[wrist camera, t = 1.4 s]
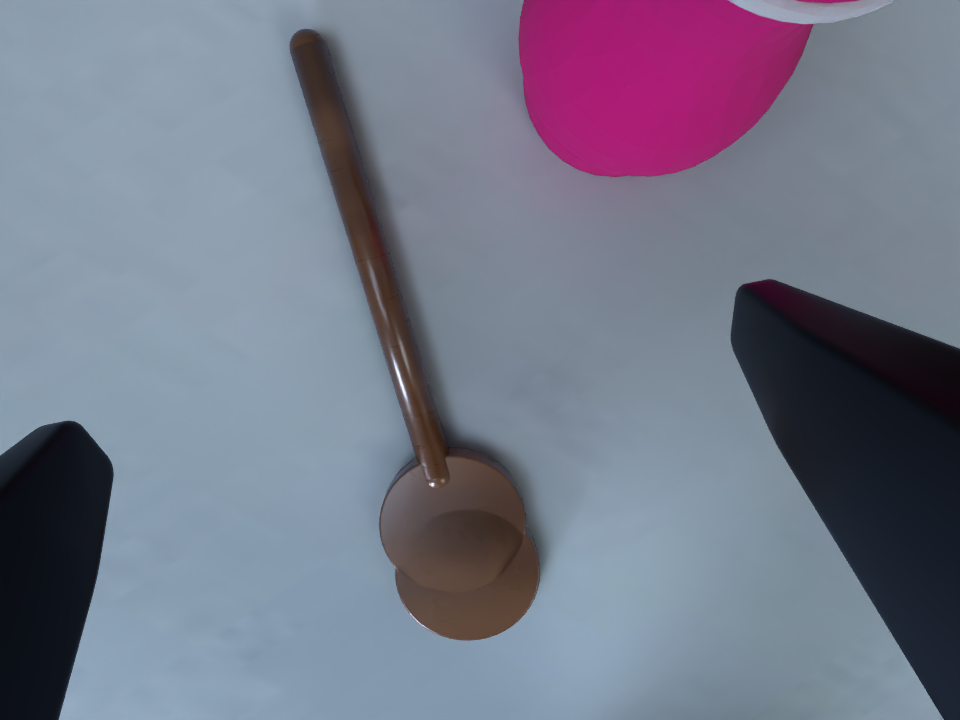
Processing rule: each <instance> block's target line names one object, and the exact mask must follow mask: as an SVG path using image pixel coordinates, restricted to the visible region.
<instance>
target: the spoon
mask: <svg viewBox="0 0 960 720" xmlns="http://www.w3.org/2000/svg"><path fill="white" fill-rule="evenodd" d="M290 53H291V57H292V60H293V63H294V66H295V70H296V73H297V76H298V79H299V82H300V86H301V89H302V92H303V95H304V98H305V102H306V105H307V108H308V111H309V115H310V118H311V121H312V124H313V127H314V131H315V134H316V137H317V140H318V144H319V147H320V150H321V153H322V156H323V160H324V163H325V166H326V169H327V172H328V176H329V179H330V182H331V185H332V189H333V192H334V195H335V198H336V201H337V205H338V208H339V211H340V214H341V217H342V221H343V224H344V227H345V230H346V234H347V237H348V240H349V243H350V246H351V250H352V253H353V256H354V259H355V262H356V266H357V269H358V272H359V275H360V279H361V282H362V285H363V288H364V291H365V295H366V298H367V301H368V304H369V308H370V311H371V314H372V317H373V320H374V324H375V327H376V330H377V333H378V336H379V340H380V343H381V346H382V349H383V353H384V356H385V359H386V362H387V365H388V369H389V372H390V375H391V378H392V381H393V385H394V388H395V391H396V394H397V398H398V401H399V404H400V407H401V410H402V414H403V417H404V420H405V423H406V427H407V430H408V433H409V436H410V439H411V443H412V446H413V449H414V452H415V455H416V458H415V459H414V460H412V461H411V462H409V463H408V464H407V465H406V466H405V467H403V468H402V469H401V470H400V472H399V473H398V474H397V475H396V476H395V478H394V479H393V481H392V482H391V484H390V486H389V488H388V490H387V493H386V495H385V498H384V501H383V504H382V508H381V512H380V519H379V529H380V537H381V541H382V545H383V547H384V550H385V552H386V554H387V556H388V558H389V559H390V561H391V563H392V564H393V565H394V566H395V568H396V569H395V578H396V585H397V589H398V593H399V596H400V598H401V601H402V602H403V604H404V606H405V608H406V609H407V611H408V612H409V613H410V614H411V616H412V617H413V618H414V619H415V620H416V621H417V622H418V623H420V624H421V625H422V626H423V627H425V628H426V629H428V630H430V631H431V632H433V633H436V634H438V635H440V636H443V637H447V638H450V639H456V640H479V639H484V638H488V637H491V636H494V635H497V634H499V633H501V632H503V631H505V630H507V629H508V628H510V627H511V626H513V625H514V624H515V623H516V622H518V621H519V620H520V619H521V618H522V616H523V615H524V614H525V613H526V612H527V610H528V609H529V607H530V606H531V604H532V602H533V600H534V599H535V596H536V593H537V591H538V586H539V582H540V563H539V558H538V554H537V549H536V545H535V542H534V540H533V537H532V535H531V533H530V531H529V529H528V528H527V526H526V525H527V524H526V513H525V509H524V504H523V500H522V496H521V493H520V490H519V488H518V486H517V484H516V482H515V481H514V479H513V478H512V477H511V475H510V474H509V473H508V472H507V471H506V469H505V468H504V467H502V466H501V465H500V464H499V463H498V462H496V461H495V460H493V459H492V458H490V457H488V456H486V455H484V454H482V453H479V452H476V451H473V450H468V449H462V448H448V447H447V443H446V440H445V437H444V433H443V430H442V427H441V423H440V420H439V417H438V413H437V410H436V407H435V403H434V400H433V397H432V393H431V390H430V387H429V383H428V380H427V377H426V373H425V370H424V367H423V363H422V360H421V357H420V354H419V350H418V347H417V344H416V340H415V337H414V334H413V330H412V327H411V324H410V320H409V317H408V314H407V310H406V307H405V304H404V300H403V297H402V294H401V290H400V287H399V284H398V280H397V277H396V274H395V270H394V267H393V264H392V260H391V257H390V254H389V250H388V247H387V244H386V240H385V237H384V234H383V230H382V227H381V224H380V220H379V217H378V214H377V211H376V207H375V204H374V201H373V197H372V194H371V191H370V187H369V184H368V181H367V177H366V174H365V171H364V167H363V164H362V161H361V157H360V154H359V151H358V147H357V144H356V141H355V137H354V134H353V131H352V127H351V124H350V121H349V117H348V114H347V111H346V107H345V104H344V101H343V97H342V94H341V91H340V87H339V84H338V81H337V77H336V74H335V71H334V68H333V64H332V61H331V58H330V54H329V51H328V48H327V45H326V42H325V40H324V39H323V37H322V36H321V35H320V34H319V33H317V32H316V31H314V30H311V29H301V30H299V31H297V32H296V33H295V34H294V35H293V36H292V38H291V41H290Z"/></svg>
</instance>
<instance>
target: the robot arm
mask: <svg viewBox="0 0 960 720" xmlns="http://www.w3.org/2000/svg"><path fill="white" fill-rule="evenodd" d="M731 344H732V348H733V351H734V353H735V356H736V358H737V360H738V362H739V364H740V367H741V369H742V371H743V373H744V375H745V378H746V380H747V382H748V384H749V386H750V389H751V391H752V393H753V395H754V397H755V400H756V402H757V404H758V406H759V408H760V411H761V413H762V415H763V417H764V419H765V422H766V424H767V426H768V428H769V430H770V432H771V434H772V436H773V438H774V440H775V442H776V444H777V446H778V448H779V449H780V451H781V453H782V455H783V456H784V458H785V460H786V461H787V463H788V465H789V466H790V468H791V470H792V471H793V473H794V475H795V476H796V478H797V480H798V481H799V483H800V484H801V486H802V488H803V489H804V491H805V493H806V494H807V496H808V498H809V499H810V501H811V502H812V504H813V506H814V507H815V509H816V511H817V512H818V514H819V516H820V517H821V519H822V521H823V522H824V524H825V525H826V527H827V529H828V530H829V532H830V534H831V535H832V537H833V539H834V540H835V542H836V543H837V545H838V547H839V548H840V550H841V552H842V553H843V555H844V557H845V558H846V560H847V562H848V563H849V565H850V566H851V568H852V570H853V571H854V573H855V575H856V576H857V578H858V580H859V581H860V583H861V585H862V586H863V588H864V589H865V591H866V593H867V594H868V596H869V598H870V599H871V601H872V603H873V604H874V606H875V607H876V609H877V611H878V612H879V614H880V616H881V617H882V619H883V621H884V622H885V624H886V626H887V627H888V629H889V630H890V632H891V634H892V635H893V637H894V639H895V640H896V642H897V644H898V645H899V647H900V648H901V650H902V652H903V653H904V655H905V657H906V658H907V660H908V662H909V663H910V665H911V667H912V668H913V670H914V671H915V673H916V675H917V676H918V678H919V680H920V681H921V683H922V685H923V686H924V688H925V689H926V691H927V693H928V694H929V696H930V698H931V699H932V701H933V703H934V704H935V706H936V708H937V709H938V711H939V712H940V714H941V716H942V717H943V719H944V720H960V349H959V348H956V347H954V346H951V345H948V344H946V343H943V342H940V341H938V340H935V339H932V338H929V337H927V336H924V335H921V334H919V333H916V332H913V331H911V330H908V329H905V328H903V327H900V326H897V325H894V324H892V323H889V322H886V321H884V320H881V319H878V318H876V317H873V316H870V315H868V314H865V313H862V312H859V311H857V310H854V309H851V308H849V307H846V306H843V305H841V304H838V303H835V302H833V301H830V300H827V299H824V298H822V297H819V296H816V295H814V294H811V293H808V292H806V291H803V290H800V289H798V288H795V287H792V286H789V285H787V284H784V283H781V282H779V281H776V280H773V279H766V280H761V281H756V282H752V283H747V284H743V285H742V286H740V287H739V288H738V290H737V292H736V296H735V304H734V312H733V320H732V327H731ZM113 476H114V474H113V467H112V463H111V461H110V459H109V458H108V456H107V455H106V454H105V453H104V451H103V450H102V449H101V448H100V447H99V446H98V444H97V443H96V442H95V441H94V440H93V438H92V437H91V436H90V435H89V434H88V432H87V431H86V430H85V429H84V428H83V427H82V426H81V425H80V424H78V423H77V422H75V421H63V422H58V423H53V424H48V425H44V426H41V427H39V428H37V429H35V430H34V431H33V432H31V433H30V434H29V435H27V436H26V437H25V438H23V439H22V440H21V441H19V442H18V443H17V444H15V445H14V446H13V447H11V448H10V449H9V450H7V451H6V452H5V453H3V454H2V455H1V456H0V720H59V716H60V713H61V709H62V705H63V702H64V698H65V694H66V691H67V687H68V683H69V680H70V676H71V673H72V669H73V665H74V662H75V658H76V654H77V651H78V647H79V643H80V640H81V636H82V632H83V629H84V625H85V621H86V618H87V614H88V610H89V607H90V603H91V600H92V596H93V592H94V588H95V584H96V580H97V575H98V570H99V564H100V559H101V552H102V546H103V540H104V534H105V527H106V521H107V515H108V508H109V502H110V496H111V490H112V483H113Z"/></svg>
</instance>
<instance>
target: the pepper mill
mask: <svg viewBox="0 0 960 720" xmlns="http://www.w3.org/2000/svg"><path fill="white" fill-rule="evenodd" d="M893 1H895V0H524V2H523V7H522V11H521V16H520V27H519V52H520V63H521V68H522V72H523V77H524V80H523V82H524V95H525V101H526V106H527V109H528V113H529V116H530V119H531V121H532V123H533V125H534V127H535V128H536V130H537V132H538V134H539V136H540V137H541V138H542V140H543V141H544V143H545V144H546V145H547V147H548V148H549V149H550V150H551V151H552V152H554V153H555V154H556V155H557V156H558V157H559V158H560V159H562V160H563V161H564V162H566V163H568V164H569V165H571V166H573V167H575V168H576V169H578V170H581V171H584V172H587V173H591V174H594V175H601V176H611V177H618V176H627V175H630V176H658V175H664V174H670V173H676V172H679V171H682V170H685V169H688V168H691V167H694V166H696V165H698V164H700V163H702V162H704V161H706V160H708V159H709V158H711V157H713V156H715V155H716V154H718V153H719V152H721V151H722V150H724V149H725V148H727V147H728V146H730V145H731V144H733V143H734V142H735V141H736V140H737V139H739V138H740V137H741V136H742V135H743V134H745V133H746V132H747V131H748V130H750V129H751V128H752V127H753V126H754V125H755V124H756V123H757V122H758V121H759V119H760V118H761V117H762V116H763V115H764V114H765V113H766V112H767V111H768V109H769V108H770V106H771V105H772V103H773V102H774V101H775V99H776V98H777V96H778V95H779V93H780V92H781V90H782V89H783V87H784V86H785V84H786V83H787V82H788V80H789V79H790V77H791V76H792V74H793V72H794V70H795V68H796V66H797V64H798V62H799V60H800V58H801V56H802V53H803V51H804V48H805V45H806V43H807V40H808V37H809V35H810V32H811V29H812V26H813V24H815V23H832V22H836V21H841V20H845V19H850V18H854V17H859V16H862V15H864V14H867V13H870V12H873V11H876V10H877V9H879V8H881V7H883V6H885V5H887V4H889V3H891V2H893Z"/></svg>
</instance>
